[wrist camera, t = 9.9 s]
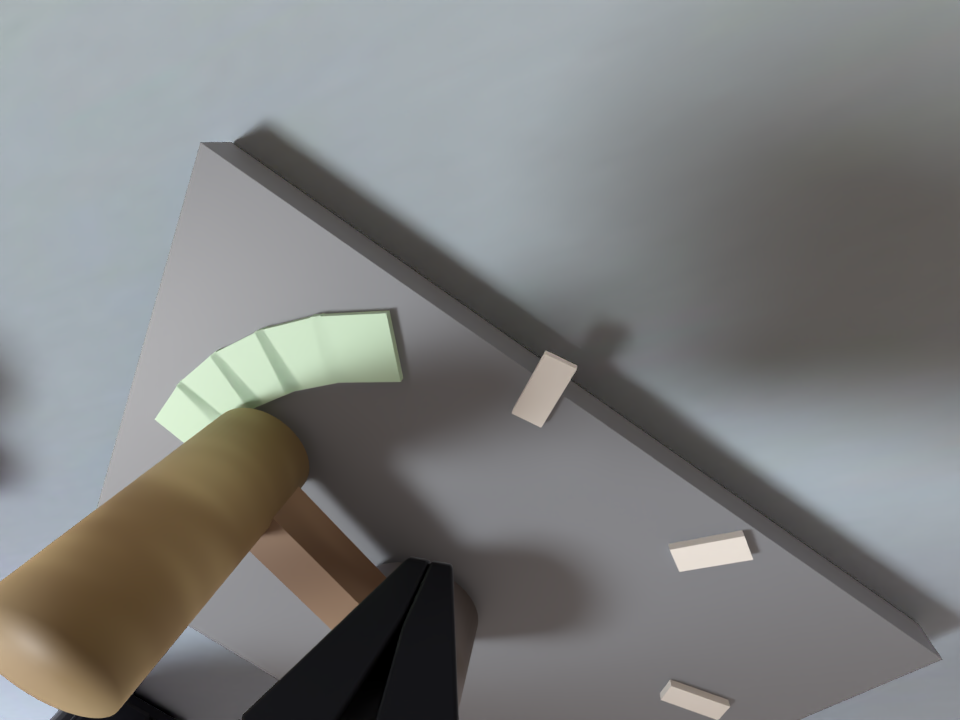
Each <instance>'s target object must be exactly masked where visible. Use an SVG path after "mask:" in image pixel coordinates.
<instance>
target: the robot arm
mask: <svg viewBox="0 0 960 720" xmlns="http://www.w3.org/2000/svg"><path fill="white" fill-rule="evenodd" d="M50 720H176V719H174V718H172V717H170V716H169V715H167V714H165V713H164V712H162V711H160V710H158V709H157V708H155V707H153V706H152V705H150V704H148V703H146V702H145V701H143V700H141V699H140V698H138V697H136V696H134V695H133V694H132V695H131V696H130V697H129V698H128V700H127V701H126V702H125V703H124V704H123V706H122V707H121V708H120V709H119V711H118V712H117V713H115V714H114V715H112V716H110V717H106V718H88V717H82V716H78V715H74V714H71V713H68V712H65V711H62V710H60V709H59V710H58V712H57V713H56V714H55V715H54V716H53V717H52V718H51V719H50ZM242 720H459V710H458V684H457V658H456V632H455V606H454V580H453V566H452V565H451V564H449V563H444V562H439V561H432V562H430V561H429V560H427V559H423V558H417V557H409V558H407V559H406V560H405V561H404V562H403V563H401V564H400V565H399V566H398V567H397V568H396V569H395V570H394V571H393V572H392V573H391V574H390V575H389V576H388V577H387V578H386V579H385V580H384V581H383V582H382V583H381V584H379V585H378V586H377V587H376V588H375V589H374V590H373V591H372V592H371V593H370V594H369V595H368V596H367V597H366V598H365V599H364V600H363V601H362V602H361V603H360V604H359V605H357V606H356V607H355V608H354V609H353V610H352V611H351V612H350V613H349V614H348V615H347V616H346V617H345V618H344V619H343V620H342V621H341V622H340V623H339V624H338V625H337V626H335V627H334V628H333V629H332V630H331V631H330V632H329V633H328V634H327V635H326V636H325V637H324V638H323V639H322V640H321V641H320V642H319V643H318V644H317V645H316V646H315V647H313V648H312V649H311V650H310V651H309V652H308V653H307V654H306V655H305V656H304V657H303V658H302V659H301V660H300V661H299V662H298V663H297V664H296V665H295V666H294V667H293V668H291V669H290V670H289V671H288V672H287V673H286V674H285V675H284V676H283V677H282V678H281V679H280V680H279V681H278V682H277V683H276V684H275V685H274V686H273V687H272V688H271V689H269V690H268V691H267V692H266V693H265V694H264V695H263V696H262V697H261V698H260V699H259V700H258V701H257V702H256V703H255V704H254V705H253V706H252V707H251V708H250V709H249V710H247V711H246V712H245V713H244V714H243V716H242Z"/></svg>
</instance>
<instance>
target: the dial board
mask: <svg viewBox="0 0 960 720" xmlns="http://www.w3.org/2000/svg"><path fill="white" fill-rule="evenodd" d="M576 370H577V365H575V364H573V363H571V362H569V361H567V360H565V359H563V358H561V357H559V356H556V355H554V354H552V353H550V352H548V351H546V350H545V352H544V354H543V356H542V358H541V359H540V358H538V357H537V356H535V355H534V354H533V353H531V352H530V351H528V350H527V349H525V348H524V347H523V346H521V345H520V344H518V343H517V342H515V341H514V340H513V339H511V338H510V337H508V336H507V335H505V334H504V333H503V332H501V331H500V330H498V329H497V328H495V327H494V326H493V325H491V324H490V323H488V322H487V321H485V320H484V319H483V318H481V317H480V316H478V315H477V314H475V313H474V312H473V311H471V310H470V309H468V308H467V307H465V306H464V305H463V304H461V303H460V302H458V301H457V300H456V299H454V298H453V297H451V296H450V295H448V294H447V293H446V292H444V291H443V290H441V289H440V288H438V287H437V286H436V285H434V284H433V283H431V282H430V281H428V280H427V279H426V278H424V277H423V276H421V275H420V274H418V273H417V272H416V271H414V270H413V269H411V268H410V267H408V266H407V265H406V264H404V263H403V262H401V261H400V260H398V259H397V258H396V257H394V256H393V255H391V254H390V253H388V252H387V251H386V250H384V249H383V248H381V247H380V246H378V245H377V244H376V243H374V242H373V241H371V240H370V239H368V238H367V237H366V236H364V235H363V234H361V233H360V232H358V231H357V230H356V229H354V228H353V227H351V226H350V225H348V224H347V223H346V222H344V221H343V220H341V219H340V218H339V217H337V216H336V215H334V214H333V213H331V212H330V211H329V210H327V209H326V208H324V207H323V206H321V205H320V204H319V203H317V202H316V201H314V200H313V199H311V198H310V197H309V196H307V195H306V194H304V193H303V192H301V191H300V190H299V189H297V188H296V187H294V186H293V185H291V184H290V183H289V182H287V181H286V180H284V179H283V178H281V177H280V176H279V175H277V174H276V173H274V172H273V171H271V170H270V169H269V168H267V167H266V166H264V165H263V164H261V163H260V162H259V161H257V160H256V159H254V158H253V157H251V156H250V155H249V154H247V153H246V152H244V151H243V150H241V149H240V148H239V147H237V146H236V145H234V144H233V143H232V142H204V143H200V146H199V149H198V153H197V156H196V160H195V163H194V167H193V171H192V174H191V178H190V181H189V185H188V188H187V192H186V195H185V199H184V202H183V206H182V209H181V213H180V216H179V220H178V223H177V227H176V230H175V234H174V238H173V241H172V245H171V248H170V252H169V255H168V259H167V262H166V266H165V269H164V273H163V276H162V280H161V283H160V287H159V290H158V294H157V297H156V301H155V305H154V308H153V312H152V315H151V319H150V322H149V326H148V329H147V333H146V336H145V340H144V343H143V347H142V350H141V354H140V357H139V361H138V364H137V368H136V372H135V375H134V379H133V382H132V386H131V389H130V393H129V396H128V400H127V403H126V407H125V410H124V414H123V417H122V421H121V424H120V428H119V431H118V435H117V438H116V442H115V446H114V449H113V453H112V456H111V460H110V463H109V467H108V470H107V474H106V477H105V481H104V484H103V488H102V491H101V495H100V498H99V502H98V505H97V508H99V507H100V506H101V505H103V504H104V503H105V502H107V501H108V500H109V499H111V498H112V497H113V496H114V495H116V494H117V493H118V492H120V491H121V490H122V489H124V488H125V487H126V486H128V485H129V484H130V483H132V482H133V481H134V480H136V479H137V478H138V477H140V476H141V475H142V474H144V473H145V472H146V471H148V470H149V469H150V468H152V467H153V466H154V465H156V464H157V463H158V462H160V461H161V460H162V459H164V458H165V457H166V456H168V455H169V454H170V453H172V452H173V451H174V450H176V449H177V448H178V447H179V446H181V445H182V444H183V443H185V442H186V441H187V440H189V439H190V438H191V437H193V436H194V435H195V434H197V433H198V432H199V431H201V430H202V429H203V428H205V427H206V426H207V425H209V424H210V423H211V422H213V421H214V420H215V419H217V418H218V417H219V416H221V415H222V414H223V413H225V412H227V411H229V410H231V409H236V408H252V409H257V410H260V411H263V412H266V413H268V414H270V415H272V416H274V417H276V418H277V419H279V420H280V421H282V422H283V423H284V424H285V425H287V426H288V427H289V428H290V429H291V430H292V431H293V432H294V433H295V434H296V436H297V437H298V438H299V440H300V441H301V443H302V444H303V446H304V448H305V450H306V453H307V456H308V460H309V475H308V478H307V481H306V482H305V484H304V485H303V486H302V488H301V489H302V490H303V491H304V492H305V493H306V494H307V495H308V497H309V498H310V499H311V500H312V501H313V502H314V503H315V504H316V505H317V506H318V507H319V508H320V509H321V510H322V511H323V512H324V513H325V514H326V515H327V516H328V517H329V518H330V519H331V520H332V521H333V522H334V524H335V525H336V526H337V527H338V528H339V529H340V530H341V531H342V532H343V533H344V534H345V535H346V536H347V537H348V538H349V539H350V540H351V541H352V542H353V543H354V544H355V545H356V546H357V547H358V548H359V549H360V551H361V552H362V553H363V554H364V555H365V556H366V557H367V558H368V559H369V560H370V561H371V562H372V563H373V564H374V565H375V566H376V567H377V566H380V565H382V564H387V563H393V562H404V561H405V560H406V559H407V558H409V557H417V558H423V559H427V560H429V561H430V562H432V561H439V562H444V563H449V564H451V565H452V566H453V580H454V581H455V582H456V583H457V584H458V585H460V586H461V587H462V588H463V589H464V590H465V591H466V593H467V594H468V595H469V596H470V598H471V599H472V601H473V603H474V605H475V607H476V610H477V613H478V627H477V631H476V635H475V640H474V644H473V649H472V653H471V657H470V662H469V666H468V671H467V675H466V679H465V684H464V688H463V693H462V697H461V702H460V706H459V720H800V719H802V718H805V717H807V716H809V715H812V714H814V713H816V712H819V711H821V710H823V709H826V708H828V707H831V706H833V705H835V704H838V703H840V702H842V701H845V700H847V699H850V698H852V697H854V696H857V695H859V694H861V693H864V692H866V691H868V690H871V689H873V688H876V687H878V686H880V685H883V684H885V683H887V682H890V681H892V680H895V679H897V678H899V677H902V676H904V675H906V674H909V673H911V672H914V671H916V670H918V669H921V668H923V667H925V666H928V665H930V664H932V663H935V662H937V661H940V660H942V658H941V657H940V655H939V654H938V652H937V651H936V649H935V648H934V646H933V645H932V643H931V642H930V641H929V639H928V638H927V636H926V635H925V633H924V632H923V630H922V629H921V627H920V626H919V624H918V623H916V622H915V621H914V620H912V619H911V618H909V617H908V616H906V615H905V614H904V613H902V612H901V611H899V610H898V609H896V608H895V607H894V606H892V605H891V604H889V603H888V602H886V601H885V600H884V599H882V598H881V597H879V596H878V595H876V594H875V593H874V592H872V591H871V590H869V589H868V588H866V587H865V586H864V585H862V584H861V583H859V582H858V581H856V580H855V579H854V578H852V577H851V576H849V575H848V574H846V573H845V572H844V571H842V570H841V569H839V568H838V567H836V566H835V565H834V564H832V563H831V562H829V561H828V560H826V559H825V558H824V557H822V556H821V555H819V554H818V553H816V552H815V551H814V550H812V549H811V548H809V547H808V546H806V545H805V544H804V543H802V542H801V541H799V540H798V539H797V538H795V537H794V536H792V535H791V534H789V533H788V532H787V531H785V530H784V529H782V528H781V527H779V526H778V525H777V524H775V523H774V522H772V521H771V520H769V519H768V518H767V517H765V516H764V515H762V514H761V513H759V512H758V511H757V510H755V509H754V508H752V507H751V506H749V505H748V504H747V503H745V502H744V501H742V500H741V499H739V498H738V497H737V496H735V495H734V494H732V493H731V492H729V491H728V490H727V489H725V488H724V487H722V486H721V485H719V484H718V483H717V482H715V481H714V480H712V479H711V478H709V477H708V476H707V475H705V474H704V473H702V472H701V471H699V470H698V469H697V468H695V467H694V466H692V465H691V464H689V463H688V462H687V461H685V460H684V459H682V458H681V457H680V456H678V455H677V454H675V453H674V452H672V451H671V450H670V449H668V448H667V447H665V446H664V445H662V444H661V443H660V442H658V441H657V440H655V439H654V438H652V437H651V436H650V435H648V434H647V433H645V432H644V431H642V430H641V429H640V428H638V427H637V426H635V425H634V424H632V423H631V422H630V421H628V420H627V419H625V418H624V417H622V416H621V415H620V414H618V413H617V412H615V411H614V410H612V409H611V408H610V407H608V406H607V405H605V404H604V403H602V402H601V401H600V400H598V399H597V398H595V397H594V396H592V395H591V394H590V393H588V392H587V391H585V390H584V389H582V388H581V387H580V386H578V385H577V384H575V383H574V382H573V381H571V378H572V377H573V375H574V373H575V372H576ZM188 626H190V627H191V628H193V629H195V630H196V631H198V632H200V633H201V634H203V635H205V636H206V637H208V638H210V639H211V640H213V641H215V642H216V643H218V644H220V645H221V646H223V647H225V648H226V649H228V650H229V651H231V652H233V653H234V654H236V655H238V656H239V657H241V658H243V659H244V660H246V661H248V662H249V663H251V664H253V665H254V666H256V667H258V668H259V669H261V670H263V671H264V672H266V673H268V674H269V675H271V676H273V677H274V678H276V679H278V680H280V679H281V678H282V677H283V676H284V675H285V674H286V673H287V672H288V671H289V670H290V669H291V668H293V667H294V666H295V665H296V664H297V663H298V662H299V661H300V660H301V659H302V658H303V657H304V656H305V655H306V654H307V653H308V652H309V651H310V650H311V649H312V648H313V647H315V646H316V645H317V644H318V643H319V642H320V641H321V640H322V639H323V638H324V637H325V636H326V635H327V634H328V633H329V632H330V631H331V629H330V628H329V627H328V626H327V625H326V624H325V623H324V622H323V621H322V620H321V619H320V618H319V617H318V616H316V615H315V614H314V613H313V612H312V611H311V610H310V609H309V608H308V607H307V606H306V605H305V604H304V603H303V602H302V601H301V600H300V599H299V598H298V597H297V596H296V595H295V594H294V593H293V592H291V591H290V590H289V589H288V588H287V587H286V586H285V585H284V584H283V583H282V582H281V581H280V580H279V579H278V578H277V577H276V576H275V575H274V574H273V573H272V572H271V571H270V570H269V569H268V568H266V567H265V566H264V565H263V564H262V563H261V562H260V561H259V560H258V559H257V558H256V557H255V556H254V555H253V554H252V553H251V552H250V551H249V552H248V553H247V555H246V556H245V557H244V558H243V560H242V561H241V562H240V563H239V564H238V566H237V567H236V568H235V569H234V570H233V572H232V573H231V574H230V575H229V577H228V578H227V579H226V580H225V581H224V583H223V584H222V585H221V586H220V588H219V589H218V590H217V591H216V592H215V594H214V595H213V596H212V597H211V599H210V600H209V601H208V602H207V603H206V605H205V606H204V607H203V608H202V609H201V611H200V612H199V613H198V614H197V616H196V617H195V618H194V619H193V620H192V622H191V623H190V624H189V625H188Z"/></svg>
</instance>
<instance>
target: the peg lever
mask: <svg viewBox="0 0 960 720" xmlns="http://www.w3.org/2000/svg"><path fill="white" fill-rule="evenodd" d="M308 475H309V460H308V456H307V453H306V450H305V448H304V446H303V444H302V443H301V441H300V440H299V438H298V437H297V436H296V434H295V433H294V432H293V431H292V430H291V429H290V428H289V427H288V426H287V425H285V424H284V423H283V422H282V421H280V420H279V419H277V418H276V417H274V416H272V415H270V414H268V413H266V412H263V411H260V410H257V409H252V408H236V409H231V410H229V411H227V412H225V413H223V414H222V415H221V416H219V417H218V418H217V419H215V420H214V421H213V422H211V423H210V424H209V425H207V426H206V427H205V428H203V429H202V430H201V431H199V432H198V433H197V434H195V435H194V436H193V437H191V438H190V439H189V440H187V441H186V442H185V443H183V444H182V445H181V446H179V447H178V448H177V449H176V450H174V451H173V452H172V453H170V454H169V455H168V456H166V457H165V458H164V459H162V460H161V461H160V462H158V463H157V464H156V465H154V466H153V467H152V468H150V469H149V470H148V471H146V472H145V473H144V474H142V475H141V476H140V477H138V478H137V479H136V480H134V481H133V482H132V483H130V484H129V485H128V486H126V487H125V488H124V489H122V490H121V491H120V492H118V493H117V494H116V495H114V496H113V497H112V498H111V499H109V500H108V501H107V502H105V503H104V504H103V505H101V506H100V507H99V508H97V509H96V510H95V511H93V512H92V513H91V514H89V515H88V516H87V517H85V518H84V519H83V520H81V521H80V522H79V523H77V524H76V525H75V526H73V527H72V528H71V529H69V530H68V531H67V532H65V533H64V534H63V535H61V536H60V537H59V538H57V539H56V540H55V541H53V542H52V543H51V544H49V545H48V546H47V547H46V548H44V549H43V550H42V551H40V552H39V553H38V554H36V555H35V556H34V557H32V558H31V559H30V560H28V561H27V562H26V563H24V564H23V565H22V566H20V567H19V568H18V569H16V570H15V571H14V572H12V573H11V574H10V575H8V576H7V577H6V578H4V579H3V580H2V581H0V674H1V675H2V676H4V677H5V678H6V679H7V680H9V681H10V682H11V683H13V684H14V685H16V686H17V687H18V688H20V689H21V690H23V691H25V692H26V693H28V694H29V695H31V696H33V697H35V698H36V699H38V700H40V701H42V702H44V703H46V704H48V705H50V706H52V707H55V708H57V709H60V710H62V711H65V712H68V713H71V714H74V715H78V716H82V717H88V718H106V717H110V716H112V715H114V714H115V713H117V712H118V711H119V709H120V708H121V707H122V706H123V704H124V703H125V702H126V701H127V700H128V698H129V697H130V696H131V695H132V694H133V692H134V691H135V690H136V689H137V687H138V686H139V685H140V684H141V683H142V681H143V680H144V679H145V678H146V676H147V675H148V674H149V673H150V672H151V670H152V669H153V668H154V667H155V666H156V664H157V663H158V662H159V661H160V659H161V658H162V657H163V656H164V655H165V653H166V652H167V651H168V650H169V648H170V647H171V646H172V645H173V644H174V642H175V641H176V640H177V639H178V637H179V636H180V635H181V634H182V633H183V631H184V630H185V629H186V628H187V627H188V625H189V624H190V623H191V622H192V620H193V619H194V618H195V617H196V616H197V614H198V613H199V612H200V611H201V609H202V608H203V607H204V606H205V605H206V603H207V602H208V601H209V600H210V599H211V597H212V596H213V595H214V594H215V592H216V591H217V590H218V589H219V588H220V586H221V585H222V584H223V583H224V581H225V580H226V579H227V578H228V577H229V575H230V574H231V573H232V572H233V570H234V569H235V568H236V567H237V566H238V564H239V563H240V562H241V561H242V560H243V558H244V557H245V556H246V555H247V553H248V552H249V551H250V552H251V553H252V554H253V555H254V556H255V557H256V558H257V559H258V560H259V561H260V562H261V563H262V564H263V565H264V566H265V567H266V568H268V569H269V570H270V571H271V572H272V573H273V574H274V575H275V576H276V577H277V578H278V579H279V580H280V581H281V582H282V583H283V584H284V585H285V586H286V587H287V588H288V589H289V590H290V591H291V592H293V593H294V594H295V595H296V596H297V597H298V598H299V599H300V600H301V601H302V602H303V603H304V604H305V605H306V606H307V607H308V608H309V609H310V610H311V611H312V612H313V613H314V614H315V615H316V616H318V617H319V618H320V619H321V620H322V621H323V622H324V623H325V624H326V625H327V626H328V627H329V628H330V629H331V630H332V629H333V628H334V627H335V626H337V625H338V624H339V623H340V622H341V621H342V620H343V619H344V618H345V617H346V616H347V615H348V614H349V613H350V612H351V611H352V610H353V609H354V608H355V607H356V606H357V605H359V604H360V603H361V602H362V601H363V600H364V599H365V598H366V597H367V596H368V595H369V594H370V593H371V592H372V591H373V590H374V589H375V588H376V587H377V586H378V585H379V584H381V583H382V582H383V581H384V580H385V579H386V578H387V577H388V576H389V575H390V574H391V573H392V572H393V571H394V570H395V569H396V568H397V567H398V566H399V565H400V564H401V563H403V562H393V563H387V564H382V565H380V566H377V567H376V566H375V565H374V564H373V563H372V562H371V561H370V560H369V559H368V558H367V557H366V556H365V555H364V554H363V553H362V552H361V551H360V549H359V548H358V547H357V546H356V545H355V544H354V543H353V542H352V541H351V540H350V539H349V538H348V537H347V536H346V535H345V534H344V533H343V532H342V531H341V530H340V529H339V528H338V527H337V526H336V525H335V524H334V522H333V521H332V520H331V519H330V518H329V517H328V516H327V515H326V514H325V513H324V512H323V511H322V510H321V509H320V508H319V507H318V506H317V505H316V504H315V503H314V502H313V501H312V500H311V499H310V498H309V497H308V495H307V494H306V493H305V492H304V491H303V490H302V489H301V488H302V486H303V485H304V484H305V482H306V481H307V478H308ZM454 606H455V632H456V658H457V684H458V710H459V706H460V702H461V697H462V693H463V688H464V684H465V679H466V675H467V671H468V666H469V662H470V657H471V653H472V649H473V644H474V640H475V635H476V631H477V627H478V613H477V610H476V607H475V605H474V603H473V601H472V599H471V598H470V596H469V595H468V594H467V593H466V591H465V590H464V589H463V588H462V587H461V586H460V585H458V584H457V583H456V582H455V581H454Z"/></svg>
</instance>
